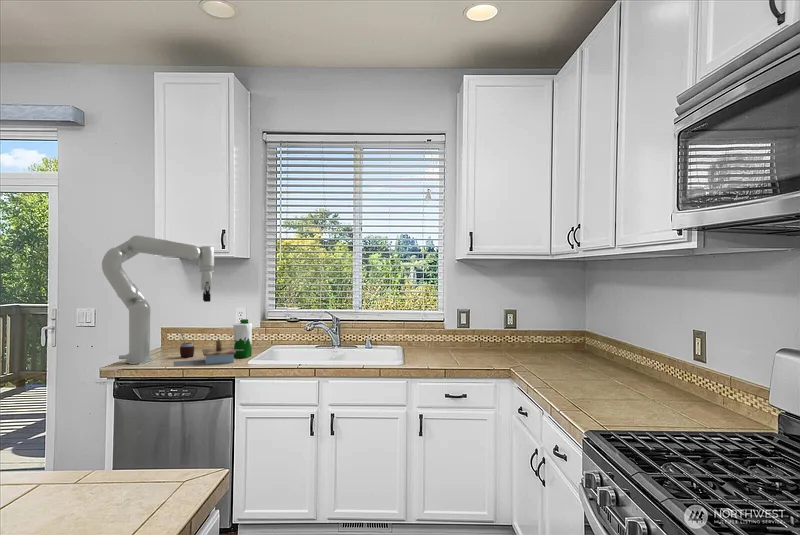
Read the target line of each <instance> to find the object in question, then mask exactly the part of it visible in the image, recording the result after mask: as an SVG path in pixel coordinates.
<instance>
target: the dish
mask: <svg viewBox="0 0 800 535" xmlns="http://www.w3.org/2000/svg"><path fill="white" fill-rule="evenodd" d="M234 360H235V357H234V354H227V355H210V356H204V363H205V365H218V364H230V363H231V364H232V363H233V364H234Z"/></svg>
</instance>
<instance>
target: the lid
mask: <svg viewBox="0 0 800 535" xmlns="http://www.w3.org/2000/svg"><path fill="white" fill-rule="evenodd" d="M222 346H223V345H222V340H216V341H215V348H207V349H206V348H205V349H202V353H203V356H204V357H205V356H210V355H227V354H236V351H235V350H234V347H222Z"/></svg>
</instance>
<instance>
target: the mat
mask: <svg viewBox="0 0 800 535" xmlns="http://www.w3.org/2000/svg"><path fill="white" fill-rule="evenodd" d="M201 365H206V363H205V359H191V360H179V361H178V360H176V361H175V360H174V361H173V367H185V366H186V367H187V366H201Z"/></svg>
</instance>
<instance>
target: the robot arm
mask: <svg viewBox="0 0 800 535" xmlns="http://www.w3.org/2000/svg"><path fill="white" fill-rule="evenodd" d="M140 253H141V254H147V255H152V256H161V257H173V258H174V257H175V258H181V259H187V260H191V261H194V260H199V261H198V262H199V265H198V266H199V268H198V269H199V272H200V273H201V274H200V275H201V276H200V290H201V291H202V292H203V293H202V300H203V302H208V303H209V302H211V290H212V283H213V282H212V280H213V273H214V272H215V247H214V246H210V245H207V246H206V245H205V246H204V245H202V246H197V245H195V244H191V243H190V244H188V243H183V242H176V241H172V240H167V239H162V238H157V237H156V238H154V237H150V236H149V237H148V236H144V235H133V236H132V237H130V238H129V239H128V240H127V241H125V242H123V243H121V244H120V245H118V246H116V247H112V248H109V250H107V251H106V253H105V254H104V256H103V258H102V261H101V269H102V273H103V275H104V276H105V278H106V280H107V281H108V283H109V284H110V286H111V287H112V289H113V290H114V292H115V293H116V295H117V297H118V298H119V299H120V300H121V301H122V303H123V304H124V306H125V308H127V310H128V354H126V353H125V355H123V354H121V355H120V354H119V355H118V359H119V360H125V362H126V363H125V364H127V363H129V365H139V364H140V365H141V364H145V363H151V362H153V361H154V359H153V358H152V357H151V305H150V303H149V302H148V301H147V299H146V298H145V296H143V294H142V292H141V291H140V289H139V288H138V287H137V285H136V284H135V283H133V282H132V280H131V279H130V277H128V275H127V273H126V272H125V270H124V269H123V265H122V264H123V263H125V262H126V261H129V260H130V259H132V258H134V257H136V256H137V255H138V254H140Z"/></svg>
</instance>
